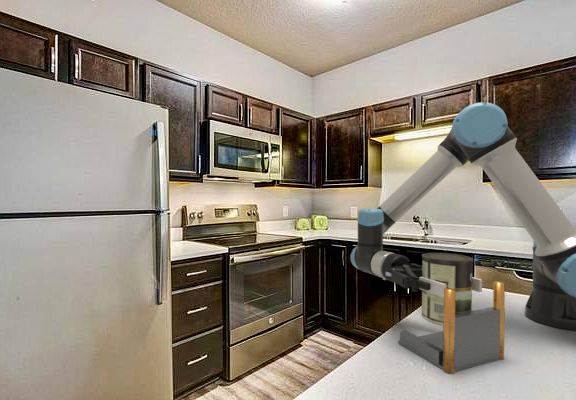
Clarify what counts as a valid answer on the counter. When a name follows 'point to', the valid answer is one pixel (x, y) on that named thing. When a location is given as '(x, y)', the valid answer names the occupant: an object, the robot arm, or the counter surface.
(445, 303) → the keeper bracket
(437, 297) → the coffee can
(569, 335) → the counter surface
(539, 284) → the robot arm
